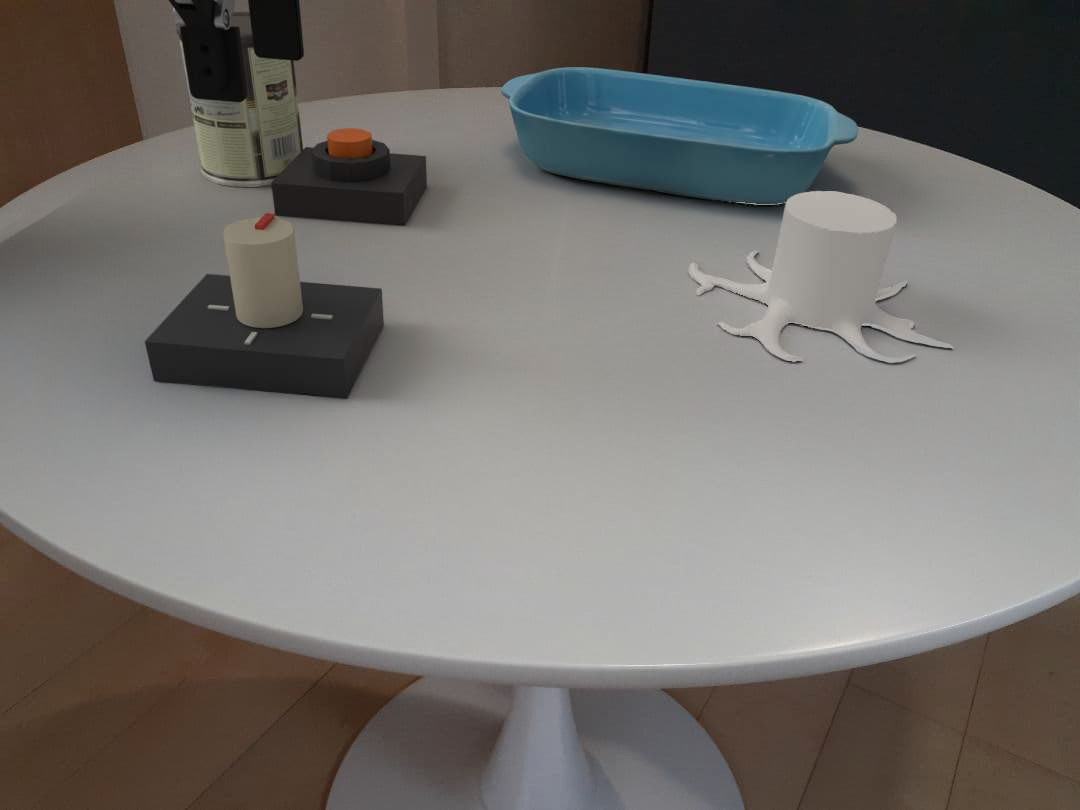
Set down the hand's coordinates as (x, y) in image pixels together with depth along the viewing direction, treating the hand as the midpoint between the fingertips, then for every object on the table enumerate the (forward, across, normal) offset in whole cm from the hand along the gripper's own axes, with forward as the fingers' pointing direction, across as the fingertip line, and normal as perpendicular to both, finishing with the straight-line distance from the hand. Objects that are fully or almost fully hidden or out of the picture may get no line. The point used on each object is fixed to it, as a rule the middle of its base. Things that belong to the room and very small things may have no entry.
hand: (251, 77), depth 57 cm
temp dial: (+15, +3, 0) cm, 15 cm away
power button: (+13, -25, -2) cm, 28 cm away
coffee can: (+18, -31, -14) cm, 38 cm away
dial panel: (+18, +3, 0) cm, 18 cm away
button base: (+18, -25, -2) cm, 31 cm away
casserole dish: (+18, -42, +28) cm, 53 cm away
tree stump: (+18, -12, +39) cm, 45 cm away
